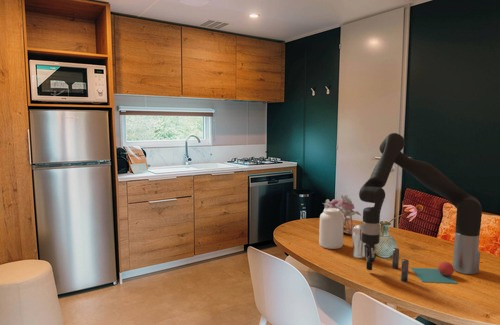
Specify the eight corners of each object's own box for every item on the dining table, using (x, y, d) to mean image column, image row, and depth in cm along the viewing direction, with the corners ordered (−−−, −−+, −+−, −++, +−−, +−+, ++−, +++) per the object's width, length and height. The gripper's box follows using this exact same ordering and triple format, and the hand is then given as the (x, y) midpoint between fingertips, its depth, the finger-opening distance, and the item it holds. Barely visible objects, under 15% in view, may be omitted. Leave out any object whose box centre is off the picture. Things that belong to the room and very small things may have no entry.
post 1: (397, 266, 163) (398, 247, 162) (399, 269, 161) (400, 250, 159) (391, 266, 163) (392, 247, 162) (393, 268, 161) (394, 249, 160)
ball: (452, 263, 156) (440, 257, 156) (459, 269, 150) (446, 262, 150) (445, 274, 157) (433, 268, 157) (451, 280, 151) (439, 274, 151)
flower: (372, 227, 216) (356, 189, 221) (362, 234, 197) (345, 192, 202) (342, 236, 226) (327, 199, 231) (330, 243, 207) (315, 203, 212)
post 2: (406, 279, 150) (407, 259, 149) (408, 282, 148) (409, 261, 147) (400, 279, 150) (401, 258, 149) (402, 282, 148) (403, 261, 147)
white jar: (340, 241, 197) (341, 206, 194) (344, 249, 184) (345, 212, 182) (318, 241, 198) (318, 206, 195) (320, 249, 185) (321, 211, 183)
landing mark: (443, 269, 160) (443, 268, 160) (457, 283, 146) (457, 283, 146) (410, 268, 162) (410, 267, 162) (422, 282, 148) (422, 281, 148)
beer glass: (356, 259, 172) (357, 229, 170) (348, 254, 178) (349, 225, 176) (368, 258, 173) (370, 228, 172) (360, 252, 180) (361, 224, 178)
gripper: (383, 236, 148) (381, 276, 150) (375, 227, 161) (374, 263, 163) (364, 236, 149) (363, 275, 151) (358, 226, 162) (357, 263, 164)
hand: (369, 269), depth 157 cm, fingers closed
